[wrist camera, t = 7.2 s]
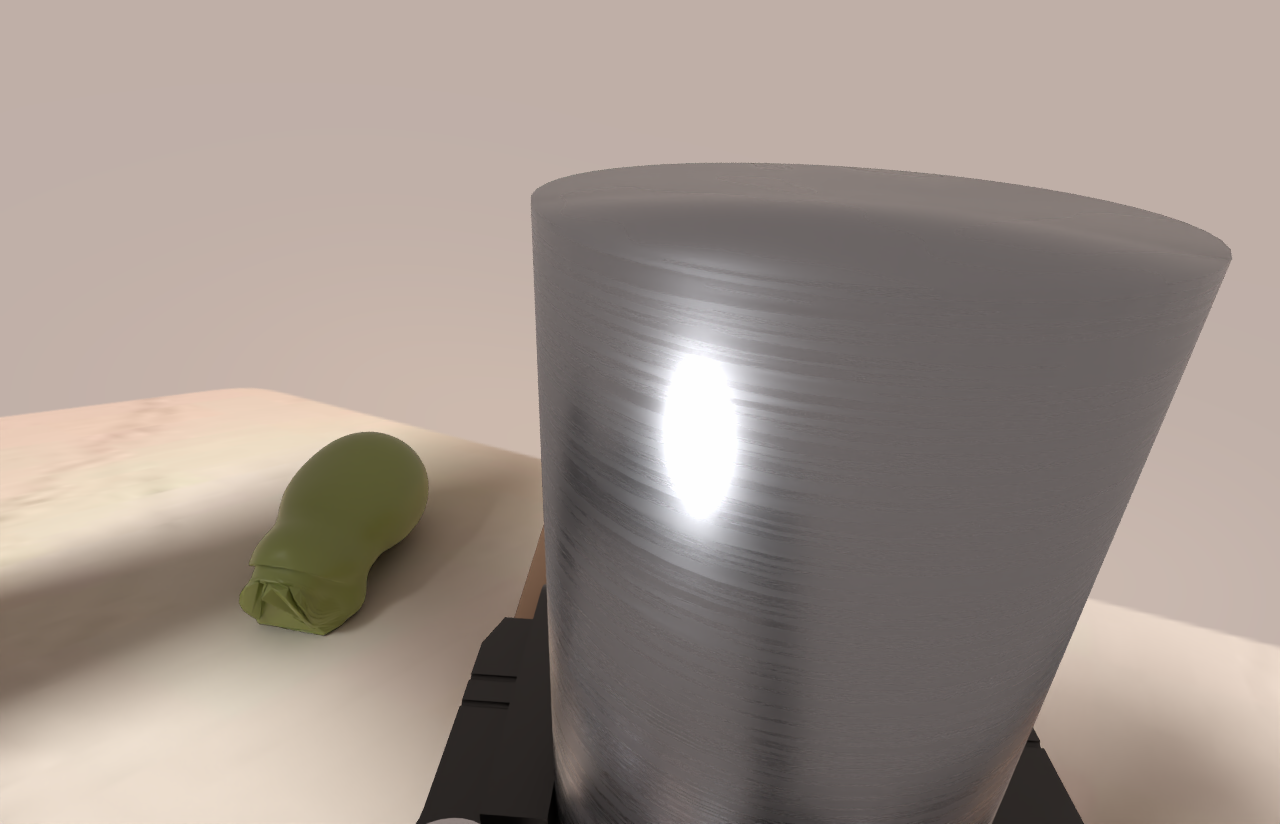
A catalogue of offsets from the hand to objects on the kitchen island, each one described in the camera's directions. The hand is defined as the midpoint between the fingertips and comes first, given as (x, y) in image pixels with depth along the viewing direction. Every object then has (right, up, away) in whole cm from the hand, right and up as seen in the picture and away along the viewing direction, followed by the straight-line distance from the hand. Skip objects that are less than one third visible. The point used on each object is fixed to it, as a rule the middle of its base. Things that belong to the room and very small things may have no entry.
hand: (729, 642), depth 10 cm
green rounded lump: (-14, -4, +20) cm, 25 cm away
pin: (0, -9, +2) cm, 9 cm away
